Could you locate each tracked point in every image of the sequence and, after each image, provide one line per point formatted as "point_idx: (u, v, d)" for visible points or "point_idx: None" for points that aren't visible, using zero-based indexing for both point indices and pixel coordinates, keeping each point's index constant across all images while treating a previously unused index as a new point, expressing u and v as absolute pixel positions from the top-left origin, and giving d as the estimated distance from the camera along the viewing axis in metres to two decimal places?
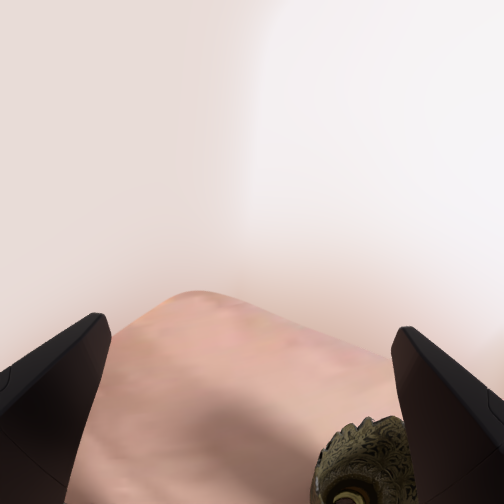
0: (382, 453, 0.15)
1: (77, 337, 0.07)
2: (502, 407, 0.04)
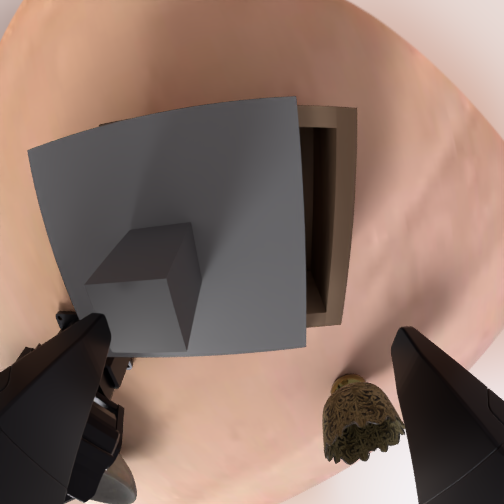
0: None
1: (77, 337, 0.07)
2: (502, 407, 0.04)
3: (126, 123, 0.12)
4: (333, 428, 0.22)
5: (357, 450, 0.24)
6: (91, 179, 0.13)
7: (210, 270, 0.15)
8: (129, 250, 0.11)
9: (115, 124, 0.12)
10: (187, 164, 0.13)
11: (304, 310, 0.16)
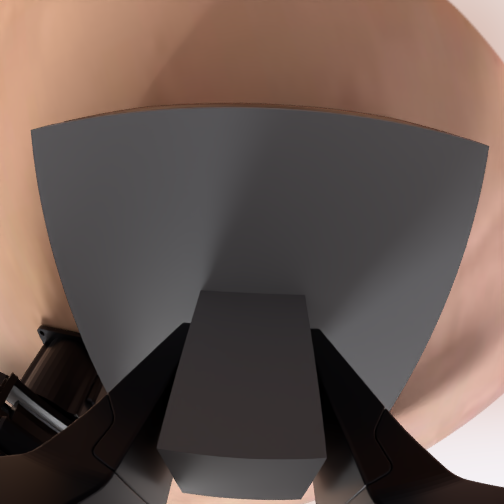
0: None
1: (180, 352, 0.07)
2: (395, 434, 0.04)
3: (226, 113, 0.07)
4: None
5: None
6: (143, 200, 0.08)
7: None
8: (220, 356, 0.07)
9: (205, 111, 0.07)
10: (324, 211, 0.08)
11: (397, 395, 0.11)
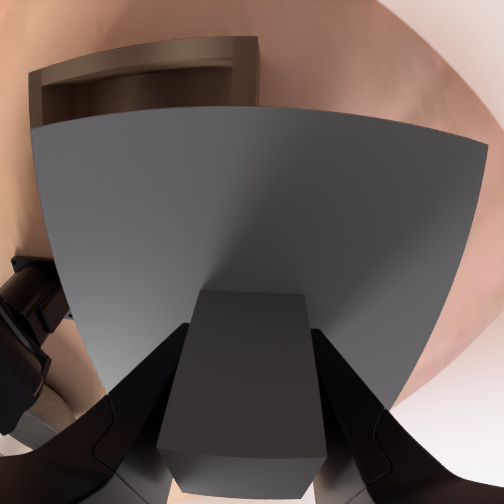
0: None
1: (180, 352, 0.07)
2: (395, 434, 0.04)
3: (226, 112, 0.07)
4: None
5: None
6: (142, 199, 0.08)
7: None
8: (220, 355, 0.07)
9: (204, 110, 0.07)
10: (323, 210, 0.08)
11: (397, 394, 0.11)
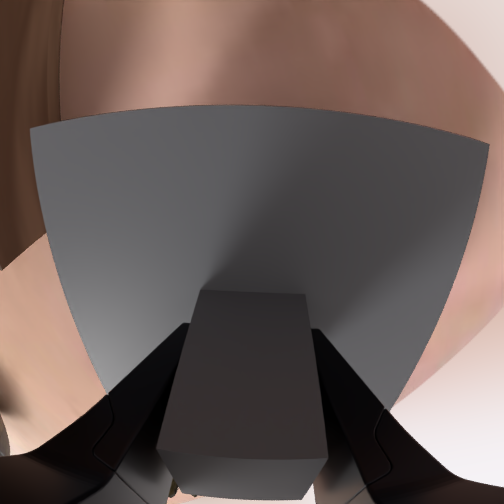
0: None
1: (180, 352, 0.07)
2: (395, 434, 0.04)
3: (227, 112, 0.07)
4: None
5: None
6: (142, 198, 0.08)
7: None
8: (220, 355, 0.07)
9: (204, 109, 0.07)
10: (324, 209, 0.08)
11: (398, 394, 0.11)
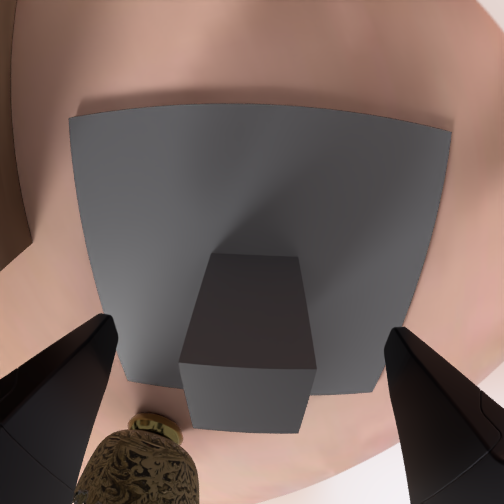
0: None
1: (85, 338, 0.07)
2: (495, 409, 0.04)
3: (235, 108, 0.08)
4: (77, 484, 0.11)
5: None
6: (166, 176, 0.09)
7: None
8: (229, 297, 0.09)
9: (218, 106, 0.08)
10: (312, 185, 0.09)
11: None
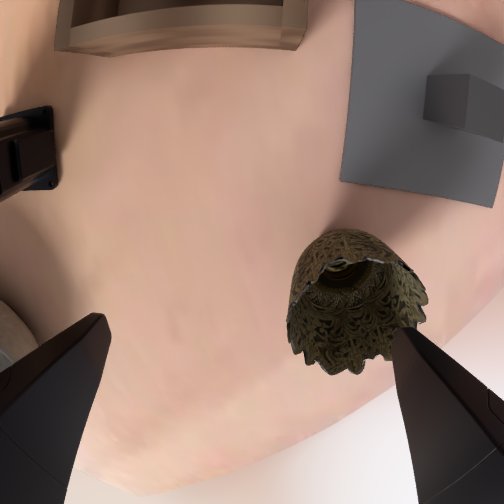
0: (380, 309, 0.18)
1: (77, 337, 0.07)
2: (502, 407, 0.04)
3: (438, 15, 0.12)
4: (304, 275, 0.15)
5: (345, 354, 0.17)
6: (409, 32, 0.13)
7: None
8: None
9: (432, 12, 0.12)
10: (467, 56, 0.13)
11: (499, 176, 0.17)
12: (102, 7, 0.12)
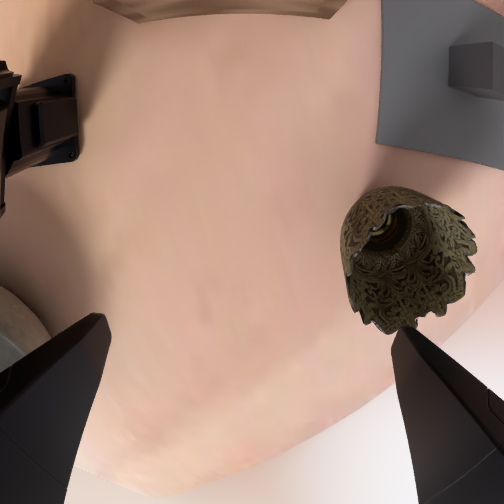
0: (424, 269, 0.17)
1: (77, 337, 0.07)
2: (502, 407, 0.04)
3: None
4: (363, 225, 0.14)
5: (397, 313, 0.16)
6: (431, 7, 0.13)
7: None
8: None
9: None
10: (481, 30, 0.12)
11: None
12: None
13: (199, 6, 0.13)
